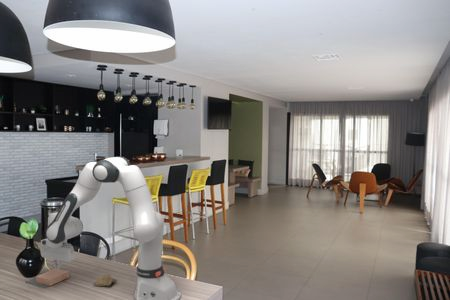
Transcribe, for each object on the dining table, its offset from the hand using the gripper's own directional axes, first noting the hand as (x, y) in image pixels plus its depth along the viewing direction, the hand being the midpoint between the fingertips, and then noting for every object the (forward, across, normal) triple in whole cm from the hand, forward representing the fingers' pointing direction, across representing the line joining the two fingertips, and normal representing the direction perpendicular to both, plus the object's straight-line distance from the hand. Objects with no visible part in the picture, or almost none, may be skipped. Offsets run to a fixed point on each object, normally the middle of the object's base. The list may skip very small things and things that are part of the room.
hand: (57, 267), depth 185 cm
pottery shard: (+7, -19, -9) cm, 22 cm away
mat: (+7, +6, 0) cm, 10 cm away
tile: (+5, -2, 0) cm, 5 cm away
